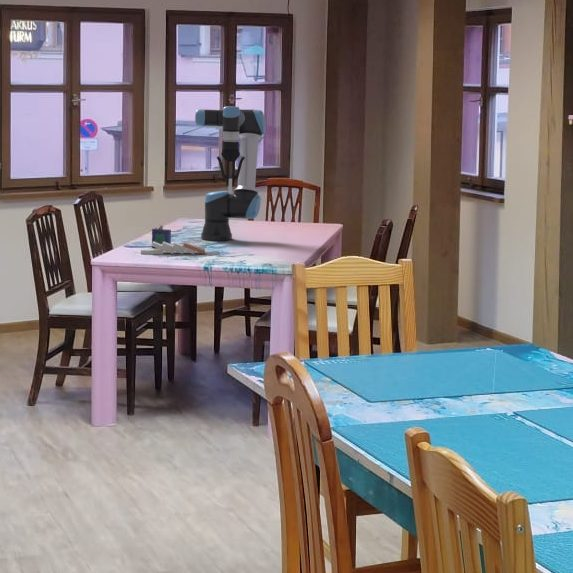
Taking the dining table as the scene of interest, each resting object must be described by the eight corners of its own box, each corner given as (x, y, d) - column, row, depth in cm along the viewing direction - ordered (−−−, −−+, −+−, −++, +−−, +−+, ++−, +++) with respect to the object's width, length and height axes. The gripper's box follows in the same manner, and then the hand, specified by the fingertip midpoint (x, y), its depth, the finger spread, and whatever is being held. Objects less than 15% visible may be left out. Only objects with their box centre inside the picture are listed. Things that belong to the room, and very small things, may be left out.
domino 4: (194, 254, 530) (172, 246, 528) (193, 252, 534) (172, 244, 533) (195, 251, 529) (174, 243, 528) (195, 249, 534) (174, 241, 533)
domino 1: (163, 254, 528) (140, 253, 527) (163, 252, 533) (141, 252, 532) (163, 250, 528) (140, 250, 527) (163, 248, 533) (141, 248, 532)
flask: (171, 248, 547) (171, 225, 545) (169, 249, 545) (169, 226, 543) (153, 247, 550) (153, 224, 548) (150, 248, 547) (150, 225, 545)
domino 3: (183, 254, 529) (161, 246, 528) (182, 252, 534) (161, 244, 532) (184, 250, 529) (163, 242, 527) (184, 249, 534) (163, 241, 532)
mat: (152, 255, 525) (152, 254, 525) (152, 252, 535) (152, 251, 535) (220, 256, 528) (220, 255, 528) (219, 252, 538) (219, 252, 538)
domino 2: (172, 254, 529) (151, 245, 527) (172, 252, 534) (151, 244, 532) (174, 250, 528) (153, 242, 527) (174, 249, 533) (153, 241, 532)
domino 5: (203, 254, 530) (182, 246, 528) (203, 252, 535) (182, 244, 533) (205, 250, 530) (184, 243, 528) (204, 249, 535) (183, 241, 533)
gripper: (216, 141, 533) (216, 193, 537) (245, 141, 534) (244, 194, 539) (216, 140, 540) (215, 192, 545) (244, 140, 542) (243, 192, 546)
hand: (230, 193), depth 542 cm, fingers closed
